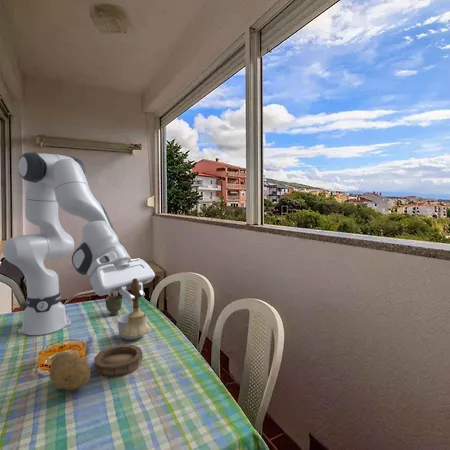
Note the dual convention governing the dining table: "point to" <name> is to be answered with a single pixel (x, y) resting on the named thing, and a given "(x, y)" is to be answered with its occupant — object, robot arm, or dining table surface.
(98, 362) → the tray
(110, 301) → the cup
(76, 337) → the dining table surface
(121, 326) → the teacup
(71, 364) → the potato
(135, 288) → the hand bell
